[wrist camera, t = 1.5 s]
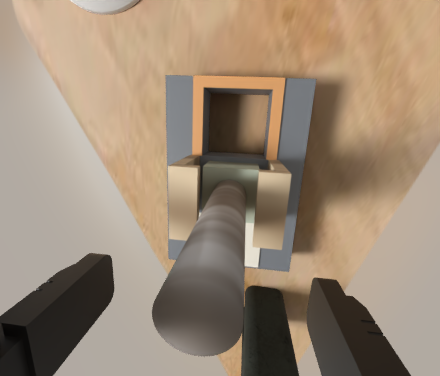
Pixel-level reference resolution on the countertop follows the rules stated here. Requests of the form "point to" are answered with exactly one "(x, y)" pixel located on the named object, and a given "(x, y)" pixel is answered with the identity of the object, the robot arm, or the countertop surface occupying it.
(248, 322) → the candle
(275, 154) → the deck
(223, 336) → the post on square base
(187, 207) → the wooden brackets
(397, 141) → the countertop surface
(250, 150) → the countertop surface
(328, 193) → the countertop surface
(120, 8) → the candlestick
